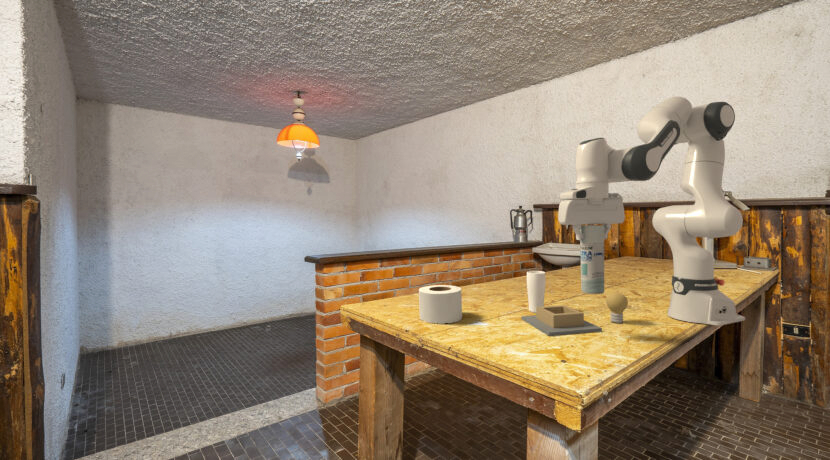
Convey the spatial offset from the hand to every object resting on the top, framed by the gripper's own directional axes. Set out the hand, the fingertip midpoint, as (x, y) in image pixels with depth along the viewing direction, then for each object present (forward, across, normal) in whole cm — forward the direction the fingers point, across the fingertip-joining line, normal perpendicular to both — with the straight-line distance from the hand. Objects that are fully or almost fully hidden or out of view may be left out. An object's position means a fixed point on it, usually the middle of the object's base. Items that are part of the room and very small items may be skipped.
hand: (591, 239), depth 110 cm
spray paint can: (+16, 0, 0) cm, 16 cm away
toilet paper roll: (+29, +39, -30) cm, 57 cm away
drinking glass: (+29, +2, -28) cm, 41 cm away
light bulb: (+29, -16, -9) cm, 35 cm away
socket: (+29, +4, -11) cm, 31 cm away
